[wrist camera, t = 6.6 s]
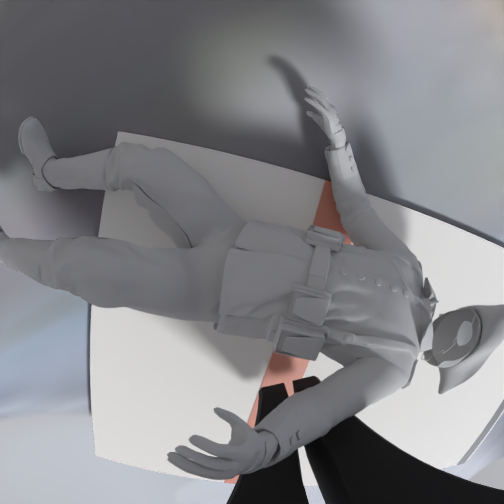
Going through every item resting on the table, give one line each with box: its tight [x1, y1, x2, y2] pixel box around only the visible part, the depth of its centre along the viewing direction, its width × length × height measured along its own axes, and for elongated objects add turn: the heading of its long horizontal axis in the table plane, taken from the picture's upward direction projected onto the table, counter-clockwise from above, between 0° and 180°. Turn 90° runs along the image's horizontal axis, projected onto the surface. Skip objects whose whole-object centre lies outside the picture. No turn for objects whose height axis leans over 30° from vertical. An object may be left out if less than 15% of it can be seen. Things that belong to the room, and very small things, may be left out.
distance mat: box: [90, 131, 504, 486], centre depth 10 cm, size 20×12×1 cm, turn 75°
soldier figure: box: [0, 86, 504, 480], centre depth 6 cm, size 8×5×12 cm
